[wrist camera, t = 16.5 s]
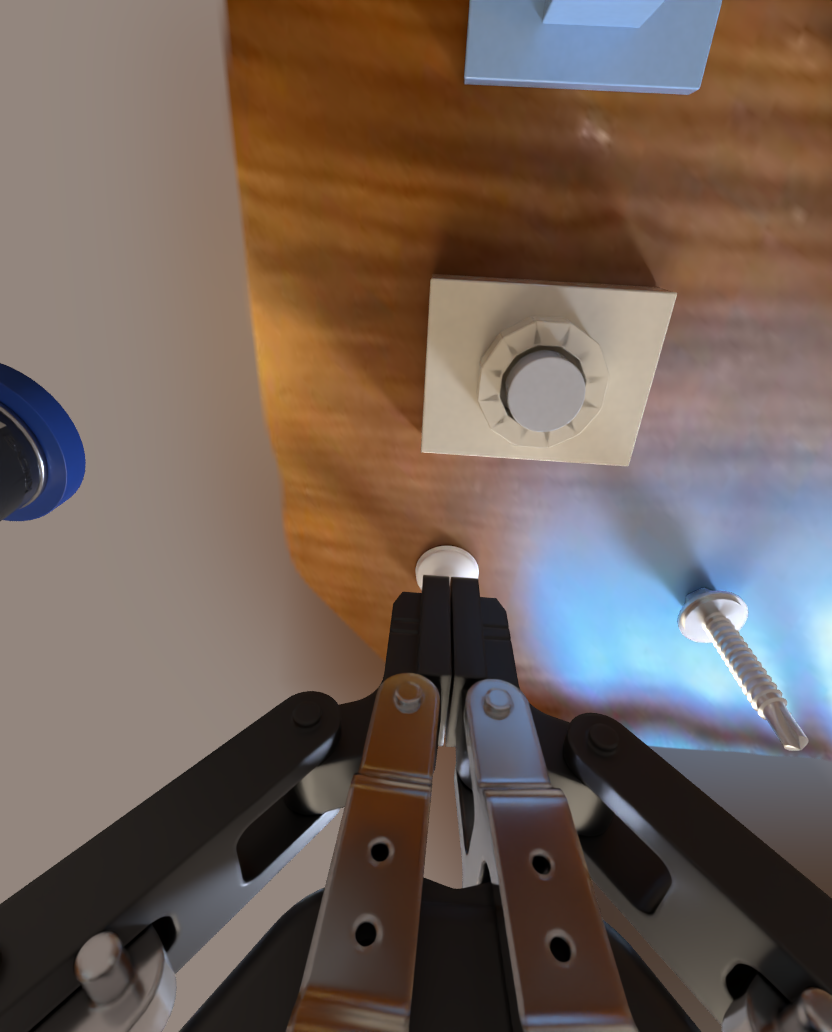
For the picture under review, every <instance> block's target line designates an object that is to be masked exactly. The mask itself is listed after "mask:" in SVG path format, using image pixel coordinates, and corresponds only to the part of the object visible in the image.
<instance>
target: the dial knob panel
mask: <svg viewBox="0 0 832 1032" xmlns="http://www.w3.org/2000/svg"><path fill="white" fill-rule="evenodd" d="M676 296H677V293H676V292H673V291H670V290H666V289H663V288H660V287H646V286H629V285H612V284H594V283H577V282H560V281H543V280H525V279H508V278H491V277H473V276H456V275H439V274H433V275H432V277H431V280H430V297H429V315H428V332H427V350H426V368H425V386H424V404H423V421H422V439H421V452H425V453H440V454H455V455H469V456H484V457H499V458H514V459H529V460H543V461H558V462H573V463H588V464H602V465H617V466H628V465H629V462H630V459H631V455H632V451H633V448H634V444H635V441H636V437H637V434H638V430H639V427H640V423H641V420H642V416H643V413H644V409H645V406H646V402H647V398H648V395H649V391H650V388H651V384H652V381H653V377H654V374H655V370H656V367H657V363H658V360H659V356H660V352H661V349H662V345H663V342H664V338H665V335H666V331H667V328H668V324H669V321H670V317H671V314H672V310H673V306H674V303H675V299H676ZM539 350H552V351H556V352H559V353H561V354H563V355H565V356H566V357H567V358H569V359H570V360H571V362H572V363H573V364H574V365H575V366H576V367H577V368H578V370H579V371H580V373H581V374H582V376H583V379H584V382H585V399H584V402H583V405H582V407H581V409H580V411H579V412H578V414H577V415H576V416H575V417H574V418H573V420H571V421H570V422H569V423H568V424H566V425H565V426H563V427H561V428H559V429H556V430H553V431H548V432H537V431H532V430H529V429H527V428H525V427H523V426H521V425H520V424H519V423H518V422H517V421H516V420H515V419H514V417H513V416H512V414H511V412H510V409H509V406H508V403H507V400H506V396H505V383H506V379H507V376H508V374H509V372H510V370H511V369H512V367H513V366H514V365H515V363H516V362H518V361H519V360H520V359H521V358H522V357H524V356H526V355H527V354H529V353H532V352H535V351H539Z"/></svg>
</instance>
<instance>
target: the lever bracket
mask: <svg viewBox="0 0 832 1032" xmlns="http://www.w3.org/2000/svg"><path fill="white" fill-rule="evenodd" d="M721 3H722V0H470V1H469V14H468V28H467V42H466V55H465V69H464V84H472V85H493V86H514V87H536V88H557V89H578V90H600V91H621V92H642V93H663V94H685V95H689V94H691V93H693V92H695V91H697V90H698V89H699V88H700V85H701V81H702V78H703V74H704V70H705V66H706V62H707V58H708V54H709V50H710V46H711V42H712V38H713V34H714V31H715V27H716V23H717V19H718V15H719V11H720V7H721Z"/></svg>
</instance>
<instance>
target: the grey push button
mask: <svg viewBox="0 0 832 1032" xmlns="http://www.w3.org/2000/svg"><path fill="white" fill-rule="evenodd" d="M505 396H506V400H507V403H508V406H509V409H510V412H511V414H512V416H513V417H514V419H515V420H516V421H517V422H518V423H519V424H520V425H521V426H523V427H525V428H527V429H529V430H532V431H537V432H548V431H553V430H556V429H559V428H561V427H563V426H565V425H566V424H568V423H569V422H570V421H571V420H573V418H574V417H575V416H576V415H577V414H578V412H579V411H580V409H581V407H582V405H583V402H584V399H585V382H584V379H583V376H582V374H581V373H580V371H579V370H578V368H577V367H576V366H575V365H574V364H573V363H572V362H571V360H570V359H569V358H567V357H566V356H565V355H563V354H561V353H559V352H556V351H552V350H539V351H535V352H532V353H529V354H527V355H526V356H524V357H522V358H521V359H520V360H519V361H518V362H516V363H515V365H514V366H513V367H512V369H511V370H510V372H509V374H508V376H507V379H506V383H505Z"/></svg>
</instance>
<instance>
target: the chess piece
mask: <svg viewBox="0 0 832 1032" xmlns="http://www.w3.org/2000/svg"><path fill="white" fill-rule="evenodd" d="M478 574H479V569H478V565H477V562H476V560H475V559H474V558H473V556H472V555H471V554H469V553H468V552H467V551H465V550H463V549H461V548H458V547H455V546H439V547H435V548H432V549H430V550H428V551H427V552H425V553H424V554H423V555H422V556H421V557H420V559H419V560H418V562H417V565H416V579H417V583H418V585H419V587H420V588H421V590H422V582H423V575H436V576H449V581H450V580H451V577H465V578H478Z"/></svg>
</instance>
